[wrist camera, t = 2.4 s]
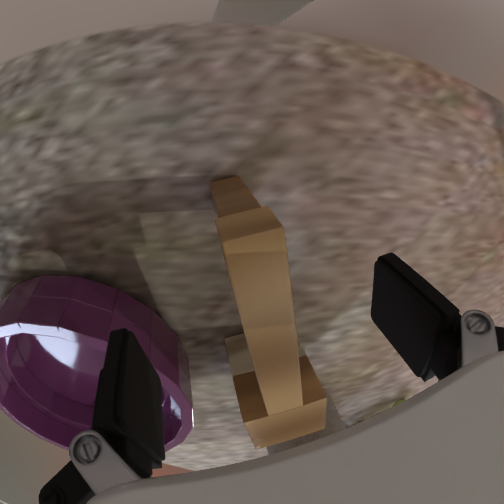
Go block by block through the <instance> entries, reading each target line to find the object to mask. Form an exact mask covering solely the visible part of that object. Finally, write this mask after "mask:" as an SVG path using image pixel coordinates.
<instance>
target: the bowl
mask: <svg viewBox="0 0 504 504" xmlns="http://www.w3.org/2000/svg"><path fill="white" fill-rule="evenodd" d="M122 328H126V329H127V330H128V331H132V332H133V333H134V335H135V337H136V338H137V340H138V342H139V344H140V345H141V347H142V349H143V350H144V352H145V354H146V356H147V357H148V359H149V361H150V362H151V364H152V365H153V367H154V369H155V370H156V372H157V374H158V375H159V377H160V380H161V385H162V414H163V432H164V447H165V452H166V451H168V450H170V449H172V448H173V447H175V446H177V445H178V444H180V443H182V442H183V441H184V440H185V438H186V437H187V435H188V434H189V432H190V431H191V430H192V428H193V426H194V425H193V402H192V393H191V384H190V373H189V362H188V357H187V355H186V353H185V351H184V349H183V346H182V344H181V342H180V340H179V338H178V336H177V334H176V333H175V332H174V331H173V330H172V329H171V328H170V327H169V326H168V325H167V324H166V323H165V322H164V321H163V320H162V319H161V318H160V317H159V316H158V315H157V314H156V313H155V312H154V310H152V309H151V308H149V307H148V306H146V305H144V304H142V303H141V302H139V301H137V300H136V299H134V298H132V297H131V296H129V295H127V294H126V293H124V292H123V291H121V290H119V289H117V288H113V287H110V286H107V285H104V284H101V283H98V282H95V281H92V280H89V279H86V278H83V277H79V276H57V275H43V276H39V277H36V278H33V279H30V280H27V281H24V282H21V283H18V284H16V285H15V286H14V287H13V288H12V289H11V290H10V291H9V292H8V294H7V295H6V296H5V297H4V298H3V299H2V300H1V301H0V409H1V410H2V411H3V412H4V413H5V414H6V415H8V416H9V417H10V418H11V419H12V420H13V421H14V422H16V423H17V424H18V425H20V426H21V427H23V428H24V429H26V430H27V431H29V432H31V433H32V434H34V435H35V436H37V437H39V438H41V439H43V440H45V441H47V442H49V443H52V444H54V445H56V446H58V447H61V448H63V449H66V450H69V447H70V443H71V441H72V439H73V438H74V437H75V436H76V435H77V434H79V433H80V432H82V431H86V430H92V421H93V413H94V405H95V398H96V392H97V385H98V379H99V374H100V371H101V369H103V367H104V361H105V355H106V350H107V345H108V340H109V335H110V332H111V331H113V330H117V329H122Z"/></svg>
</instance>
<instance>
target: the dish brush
mask: <svg viewBox="0 0 504 504" xmlns="http://www.w3.org/2000/svg"><path fill="white" fill-rule="evenodd" d="M209 187H210V191H211V195H212V199H213V204H214V208H215V211H216V215H217V218H216V219H215V224H216V228H217V232H218V236H219V240H220V244H221V248H222V252H223V256H224V259H225V263H226V267H227V271H228V275H229V279H230V283H231V286H232V290H233V294H234V298H235V302H236V305H237V309H238V313H239V316H240V320H241V324H242V328H243V331H244V333H243V334H239V335H235V336H232V337H228V338H225V339H224V341H225V345H226V350H227V355H228V359H229V364H230V368H231V373H232V376H233V381H234V386H235V390H236V394H237V398H238V403H239V407H240V411H241V415H242V419H243V423H244V425H245V427H246V429H247V431H248V433H249V436H250V438H251V440H252V442H253V444H254V446H255V448H256V449H259V448H263V447H267V446H271V445H274V444H278V443H281V442H285V441H288V440H291V439H295V438H298V437H301V436H304V435H307V434H310V433H313V432H316V431H319V430H321V429H324V428H325V422H326V404H327V396H326V394H325V392H324V390H323V388H322V386H321V384H320V382H319V380H318V378H317V376H316V374H315V372H314V369H313V367H312V365H311V363H310V361H309V359H308V357H307V355H306V353H305V351H304V349H303V347H302V345H301V343H300V341H299V339H298V337H297V333H296V324H295V314H294V305H293V297H292V288H291V279H290V271H289V263H288V255H287V247H286V240H285V232H284V227H283V226H282V224H281V223H280V222H279V220H278V219H277V218H276V217H275V215H274V214H273V213H272V211H271V210H270V209H269V208H268V206H265V207H261V206H260V204H259V203H258V202H257V200H256V199H255V198H254V196H253V195H252V193H251V192H250V191H249V189H248V188H247V187H246V185H245V184H244V183H243V181H242V180H241V179H240V177H239V176H234V177H229V178H225V179H221V180H217V181H213V182H210V183H209Z"/></svg>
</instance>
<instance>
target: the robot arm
mask: <svg viewBox="0 0 504 504" xmlns="http://www.w3.org/2000/svg"><path fill="white" fill-rule="evenodd" d="M459 311H460V310H459V309H458V308H457V307H456V306H454V305H453V304H452V303H451V302H450V301H449V300H448V299H447V298H446V297H445V296H443V295H442V294H441V293H440V292H439V291H438V290H437V289H435V288H434V287H433V286H432V285H431V284H430V283H429V282H427V281H426V280H425V279H424V278H423V277H422V276H420V275H419V274H418V273H417V272H416V271H414V270H413V269H412V268H411V267H410V266H408V265H407V264H406V263H405V262H404V261H402V260H401V259H400V258H399V257H397V256H396V255H395V254H394V253H388V254H385V255H382V256H380V257H378V259H377V261H376V262H375V265H374V281H373V294H372V306H371V317H372V320H373V322H374V323H375V324H376V325H377V327H378V328H379V329H380V330H381V332H382V333H383V334H384V335H385V337H386V338H387V339H388V340H389V342H390V343H391V344H392V345H393V347H394V348H395V349H396V351H397V352H398V353H399V354H400V356H401V357H402V358H403V359H404V361H405V362H406V363H407V365H408V366H409V367H410V369H411V370H412V371H413V372H414V374H415V375H416V376H417V377H421V378H422V379H423V381H424V382H425V381H427V380H429V379H431V378H432V377H434V376H435V375H436V377H437V378H438V382H437V383H435V384H434V385H432V386H430V387H429V388H427V389H425V390H423V391H422V392H420V393H418V394H416V395H414V396H413V397H411V398H409V399H407V400H405V401H403V402H402V403H400V404H398V405H396V406H394V407H392V408H390V409H388V410H386V411H384V412H382V413H380V414H377V415H375V416H373V417H371V418H369V419H367V420H364V421H362V422H360V423H358V424H355V425H353V426H351V427H348V428H346V429H344V430H341V431H339V432H336V433H334V434H331V435H328V436H326V437H323V438H320V439H318V440H315V441H312V442H309V443H306V444H303V445H300V446H297V447H294V448H291V449H288V450H285V451H281V452H278V453H274V454H271V455H267V456H264V457H260V458H256V459H252V460H248V461H244V462H240V463H235V464H231V465H226V466H221V467H216V468H211V469H205V470H200V471H194V472H188V473H183V474H175V475H167V476H161V477H154V478H153V477H152V476H151V475H152V469H156V468H162V460H165V447H164V432H163V414H162V385H161V380H160V377H159V375H158V374H157V372H156V370H155V369H154V367H153V365H152V364H151V362H150V361H149V359H148V357H147V356H146V354H145V352H144V350H143V349H142V347H141V345H140V344H139V342H138V340H137V338H136V337H135V335H134V333H133V332H132V331H128V330H127V329H126V328H122V329H117V330H113V331H111V332H110V335H109V340H108V345H107V350H106V355H105V361H104V367H103V369H101V371H100V374H99V379H98V385H97V392H96V398H95V405H94V413H93V421H92V430H86V431H82V432H80V433H79V434H77V435H76V436H75V437H74V438H73V439H72V441H71V443H70V447H69V456H70V458H71V461H70V462H69V463H68V464H67V465H65V467H63V469H61V470H60V471H59V472H58V473H57V474H56V475H55V476H54V477H53V478H52V479H51V480H50V481H49V482H48V483H47V484H46V485H44V487H43V488H42V489H41V491H40V494H39V504H504V328H503V327H496V326H495V325H494V322H493V320H492V318H491V317H490V316H489V315H488V314H487V313H485V312H483V311H480V310H469V311H466V312H465V313H464V314H463V315H462V316H461V315H460V314H459Z"/></svg>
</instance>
